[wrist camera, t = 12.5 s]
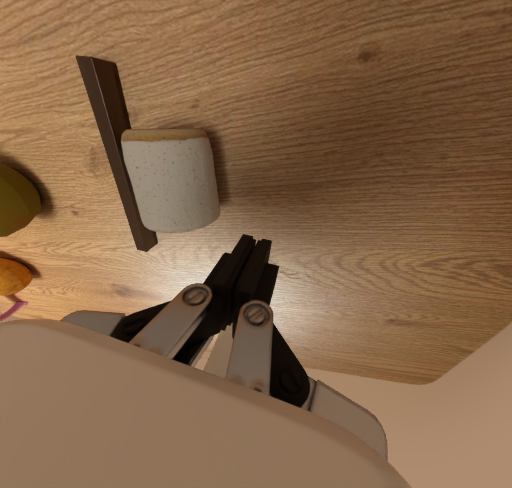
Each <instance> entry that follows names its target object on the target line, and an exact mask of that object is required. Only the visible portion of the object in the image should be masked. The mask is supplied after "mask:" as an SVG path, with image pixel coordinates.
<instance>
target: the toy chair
mask: <svg viewBox="0 0 512 488" xmlns="http://www.w3.org/2000/svg"><path fill="white" fill-rule="evenodd" d="M25 304H27V302H16V303H15V304H14V305H13V307H12V308H11V309H9V310H8V311H7V312H6V313H4V314H2V315H1V316H0V321H2V320H4V319H6V318H7V317H9V316H10V315H12V314H13V313H15V312H16V311H17V310H19V309H20V308H21V307H23V306H24V305H25Z"/></svg>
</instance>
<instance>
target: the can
mask: <svg viewBox="0 0 512 488" xmlns="http://www.w3.org/2000/svg"><path fill="white" fill-rule="evenodd" d="M232 344H233V338H232V324H231V326H228V325H227V327H226V329H225V331H223V330H221V331H220V333H219V335H218V337H217V340H216V342H215V344H214V347H213V349H212V351H211V354H210V356H209V358H208V361H207V363H206V365H205V367H204V370H203V371H205V372H207V373H210V374H213V375H215V376H218V377H221V378H223V379H225V376H226V371H227V367H228V362H229V358H230V353H231V349H232Z"/></svg>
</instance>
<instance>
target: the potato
mask: <svg viewBox="0 0 512 488" xmlns="http://www.w3.org/2000/svg"><path fill="white" fill-rule="evenodd" d="M32 278H33V277H32V273H31V272H30V270H29V269H28V268H27V267H26V266H24V265H23V264H21V263H19V262H16V261H14V260H9V259H3V258H0V295H10V294H14V293H17V292H19V291H21V290H23V289H24V288H25V287H26V286H27V285H29V283H30V282H31V280H32Z"/></svg>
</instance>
